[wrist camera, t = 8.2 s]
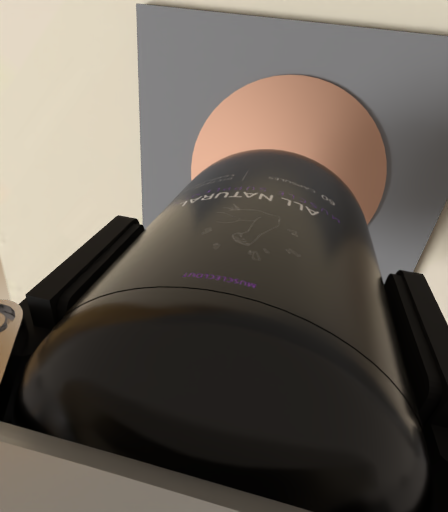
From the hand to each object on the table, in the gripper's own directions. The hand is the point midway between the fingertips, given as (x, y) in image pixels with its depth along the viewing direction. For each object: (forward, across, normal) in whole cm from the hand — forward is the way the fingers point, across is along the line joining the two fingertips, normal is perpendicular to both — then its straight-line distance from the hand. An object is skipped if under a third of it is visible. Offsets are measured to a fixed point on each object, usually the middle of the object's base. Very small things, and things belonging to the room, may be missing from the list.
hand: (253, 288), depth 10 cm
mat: (+10, 0, 0) cm, 10 cm away
